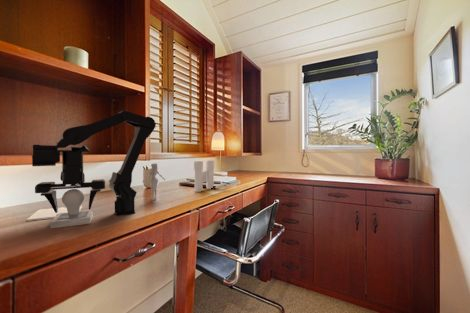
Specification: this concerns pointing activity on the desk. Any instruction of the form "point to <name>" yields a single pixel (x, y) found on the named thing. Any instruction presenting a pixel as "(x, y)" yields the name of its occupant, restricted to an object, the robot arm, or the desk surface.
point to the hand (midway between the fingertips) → (73, 210)
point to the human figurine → (153, 179)
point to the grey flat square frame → (59, 222)
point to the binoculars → (204, 175)
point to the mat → (47, 213)
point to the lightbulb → (73, 202)
